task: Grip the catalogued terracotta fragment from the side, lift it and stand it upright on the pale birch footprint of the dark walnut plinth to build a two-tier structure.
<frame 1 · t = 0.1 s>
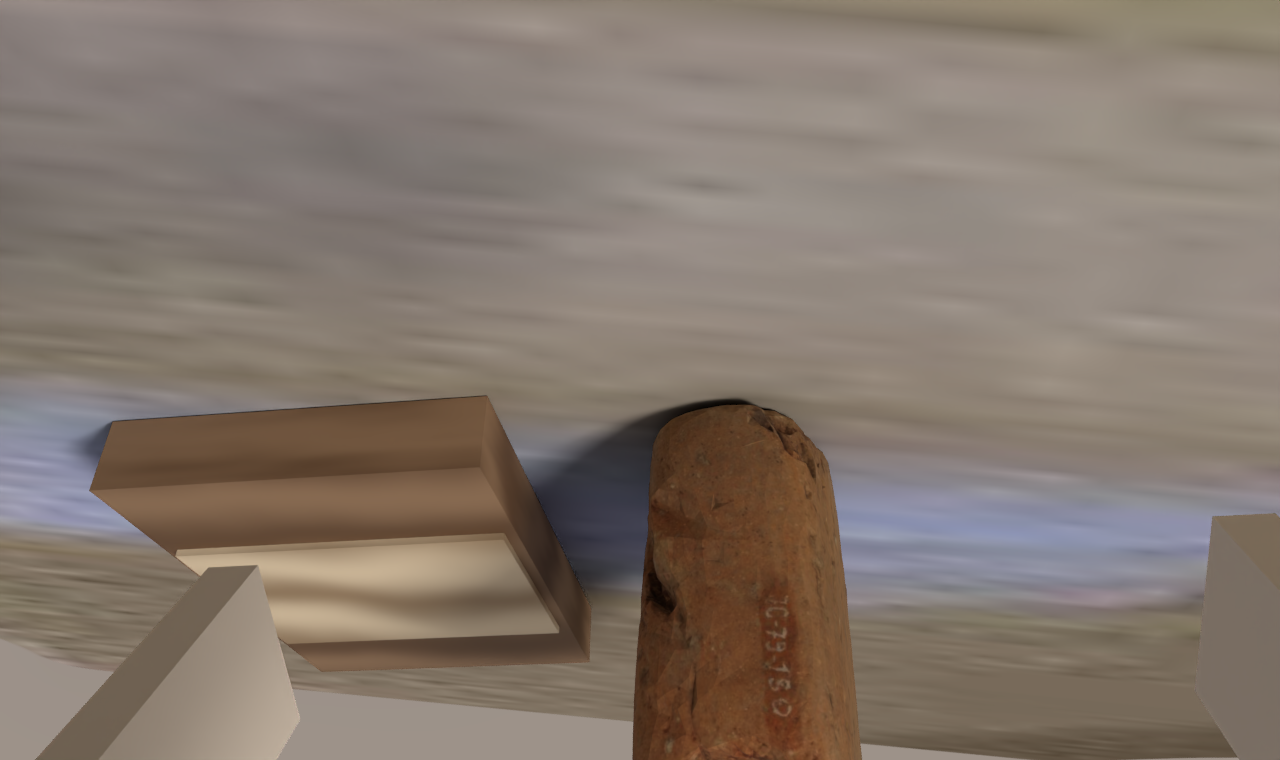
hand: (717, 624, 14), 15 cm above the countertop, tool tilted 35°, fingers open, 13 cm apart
plinth: (392, 531, 48), on the countertop
catalogued terracotta fragment: (738, 454, 42), on the countertop
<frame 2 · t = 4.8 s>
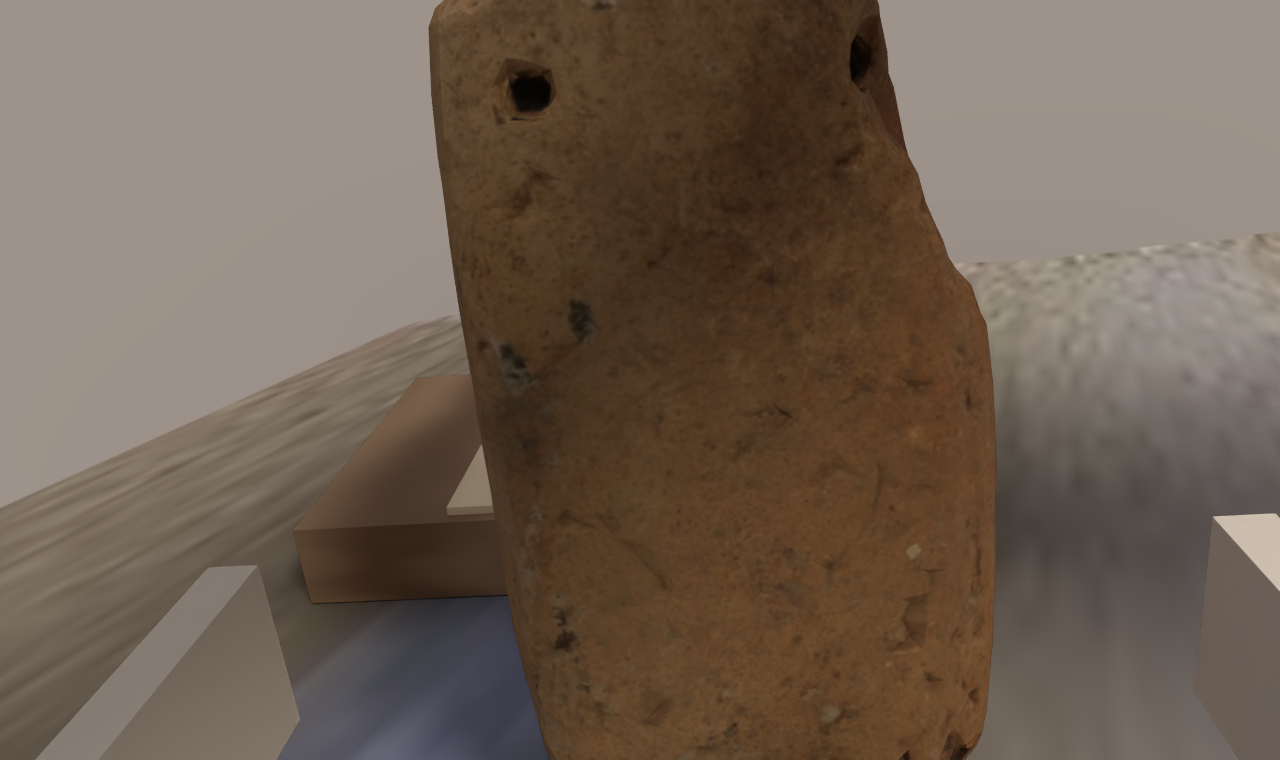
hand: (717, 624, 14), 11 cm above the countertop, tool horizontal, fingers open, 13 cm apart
plinth: (631, 491, 43), on the countertop
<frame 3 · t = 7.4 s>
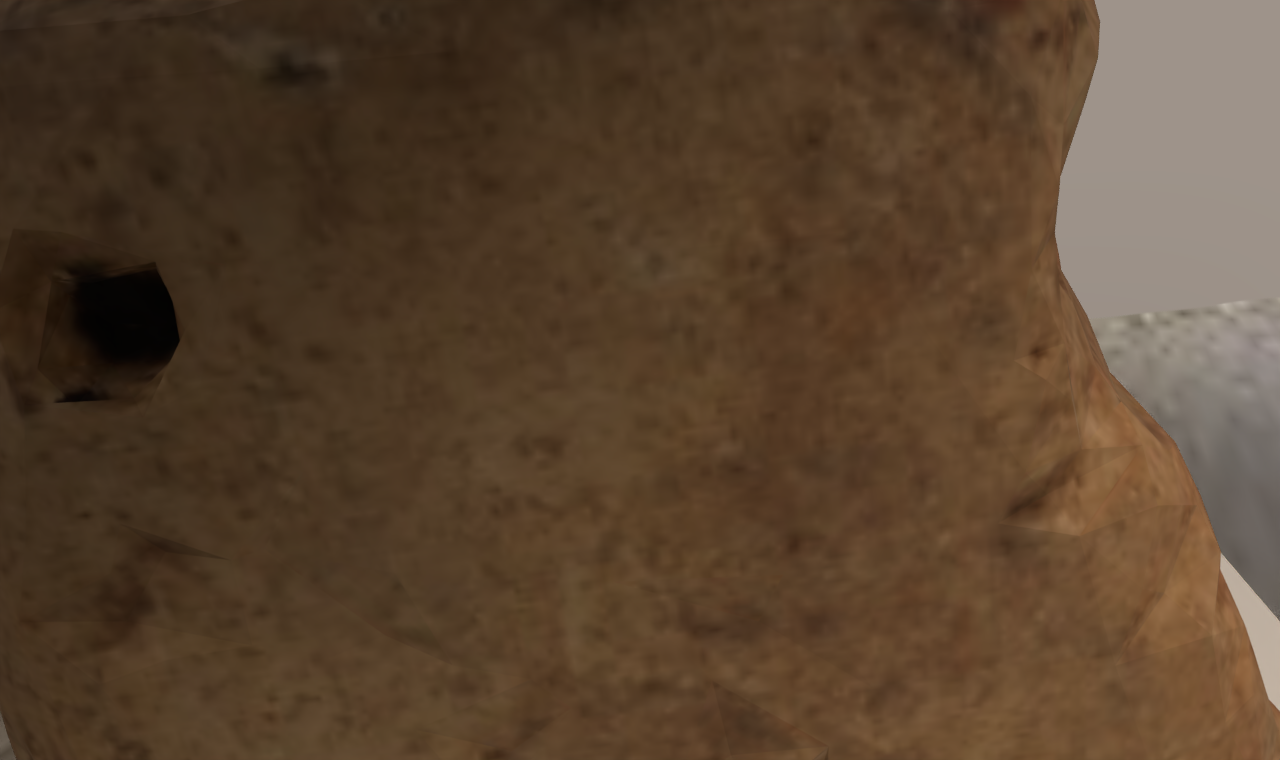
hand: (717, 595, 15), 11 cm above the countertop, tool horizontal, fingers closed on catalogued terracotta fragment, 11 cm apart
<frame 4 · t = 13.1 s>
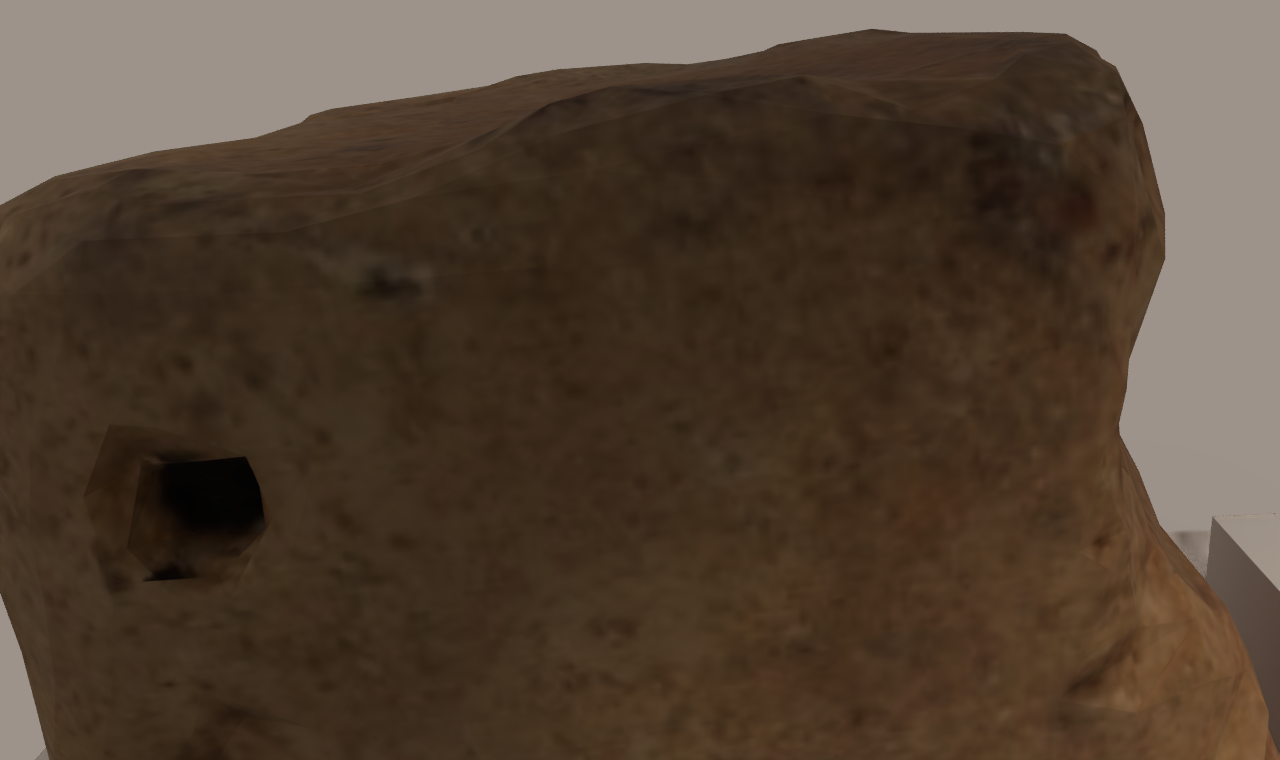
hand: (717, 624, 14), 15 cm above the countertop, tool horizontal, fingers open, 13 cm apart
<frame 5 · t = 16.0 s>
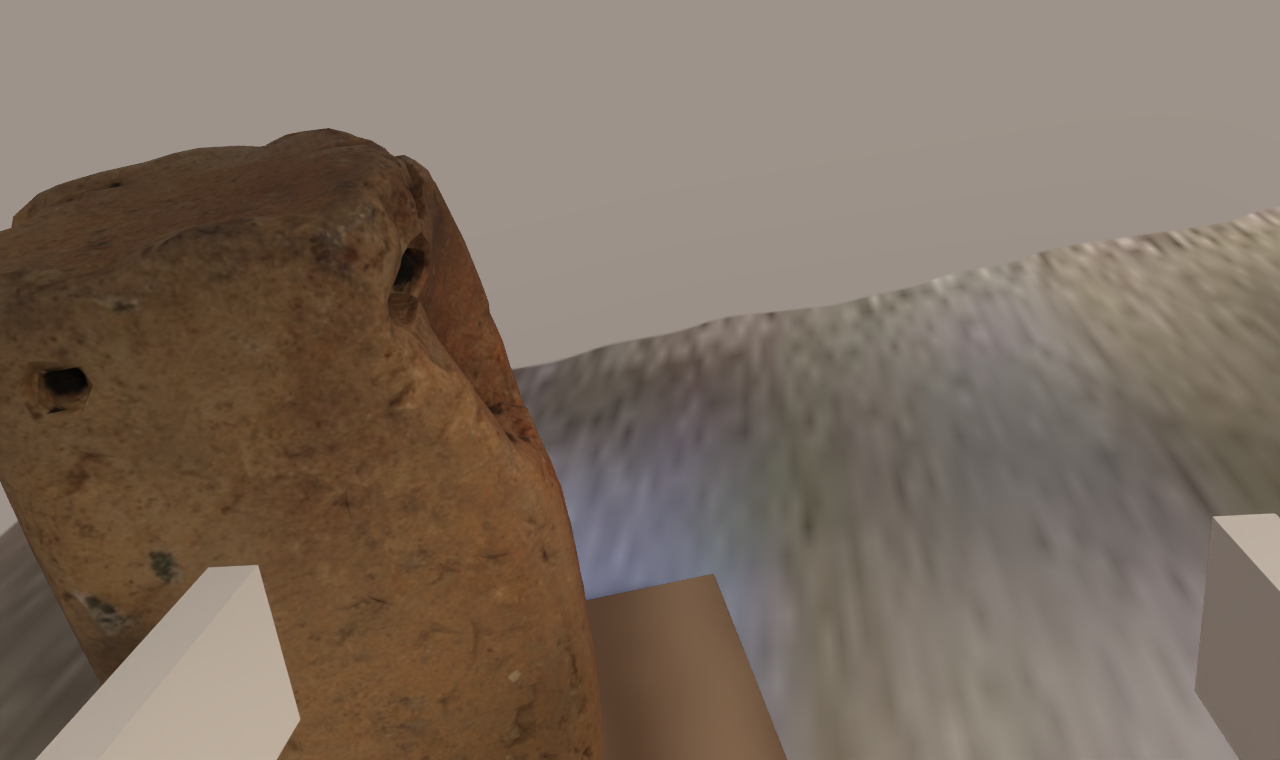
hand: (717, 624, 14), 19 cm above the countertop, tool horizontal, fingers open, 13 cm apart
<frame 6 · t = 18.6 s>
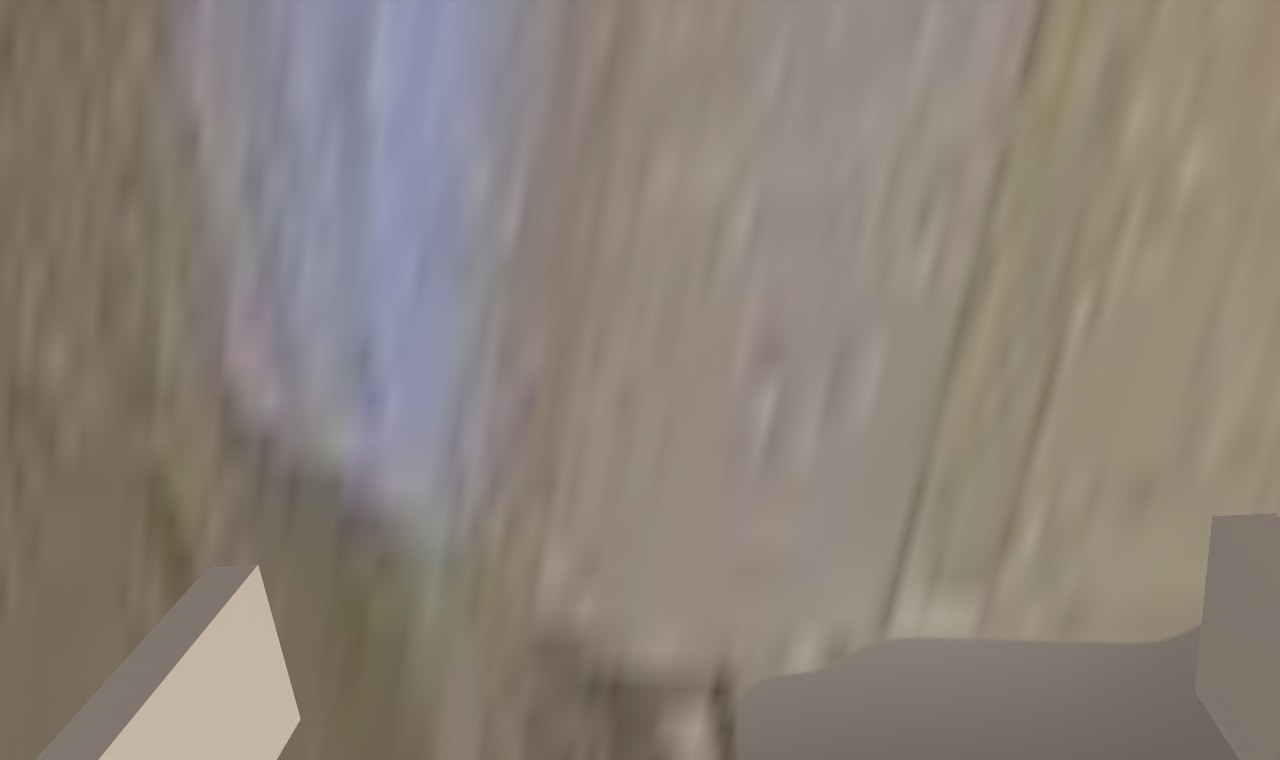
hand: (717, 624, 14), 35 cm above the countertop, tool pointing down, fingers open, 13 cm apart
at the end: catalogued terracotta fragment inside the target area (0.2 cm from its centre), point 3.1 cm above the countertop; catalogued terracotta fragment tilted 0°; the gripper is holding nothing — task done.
